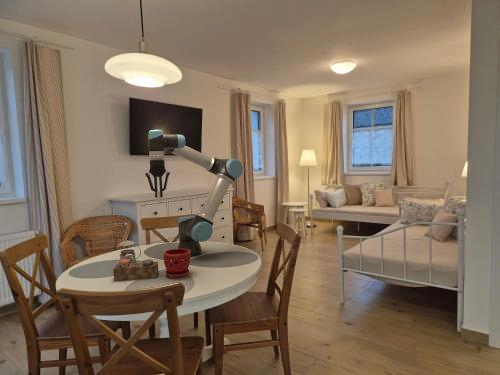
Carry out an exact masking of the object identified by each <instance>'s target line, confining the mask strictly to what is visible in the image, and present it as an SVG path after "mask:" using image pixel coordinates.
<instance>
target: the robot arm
mask: <svg viewBox="0 0 500 375" xmlns="http://www.w3.org/2000/svg"><path fill="white" fill-rule="evenodd" d="M147 137H148V138H147V139H148V149H149V150H148V152H149V155H148V156H149V170H148V171H147V172H146V173H145V174H144V175H145V177H146V178H147V180H148V184H149V187H150V190H151V191H152V192H154V197H155V198H156V199H157V200H156V201H157V205H161V204H162V198H163V197H164V196H163V195H164V191H166V190H167V186H168V180H169V176H170V175H171V172H170V171H167V169H166V166H165V151H167V152H168V153H171V154H174V155H175V156H177V157H180V158H181V159H184V160H187V161H189V162H191V163H193V164H195V165H197V166H200V167H202V168H204V170H205V171H206V172H209V173H211V174H212V175H215V176H216V177H217V178H216V180H215V182H214V184H213V186H212V188H211V190H210V192H209V194H208V196H207V198H206V200H205V201H204V204H203V206H202V207H201V209H200V212H199V213H195V215H190V216H189V215H188V216H182V217H179V218H178V223H177V224H178V225H177V226H178V240H179V242H178V246H177V249H188V250H190V254H191V256H190V257H195V256H200V255H201V254H202V253H203V252H202V251H203V250H202V246H201V243H203V242H206V241H208V240H209V239H210V238H211V237H212V236H213V232H214V231H213V225H214V220H213V219H214V217H215V216H216V214H217V212H218V209H219V208H220V206H221V203H222V201H223V199H224V198H225V196H226V193H227V192H228V190H229V188H230V186H231V185H233V184H234V183H235V182H236V179H238V178H240V177H241V176H242V175H243V172H244V167H243V164H242V162H241V161H240V160H239V159H236V158H232V157H231V158H221V159H220V158H216V157H213V156H208V155H206V154H205V153H202V152H200V151H198V150H197V149H196V150H195V149H193V148H192V147H189V146H187V145H186V138H185V136H184V135H183V134H165V133H164V130H162V129H151V130H149V131H148V136H147ZM164 174H165V176H164ZM151 175H152V177H153V182H154V184H153V182H152V177H151ZM163 177H164V184H163ZM158 181H159V182H158ZM158 184H159V190H158ZM181 254H182V253H181Z"/></svg>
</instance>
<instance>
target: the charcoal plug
mask: <svg viewBox="0 0 500 375" xmlns="http://www.w3.org/2000/svg"><path fill="white" fill-rule="evenodd" d="M153 262H154V259H152V258H151V259H144V260H142V261H141V263H142V264H143V265H145V266H147V265H151V264H153Z"/></svg>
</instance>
